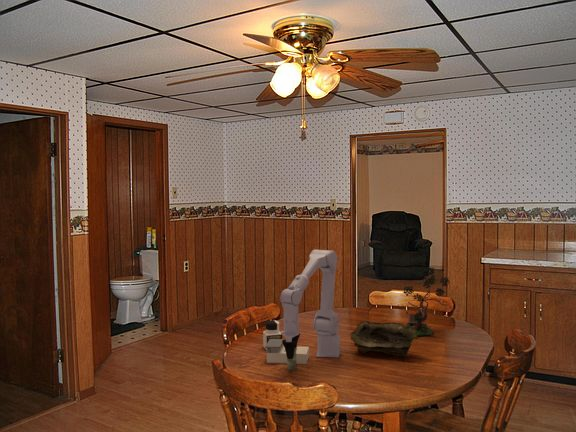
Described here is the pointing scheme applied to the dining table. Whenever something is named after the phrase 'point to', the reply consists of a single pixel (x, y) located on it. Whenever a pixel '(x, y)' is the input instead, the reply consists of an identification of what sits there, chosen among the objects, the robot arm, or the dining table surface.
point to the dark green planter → (384, 338)
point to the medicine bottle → (271, 332)
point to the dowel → (292, 363)
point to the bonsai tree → (419, 318)
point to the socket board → (284, 352)
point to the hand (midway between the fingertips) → (291, 355)
